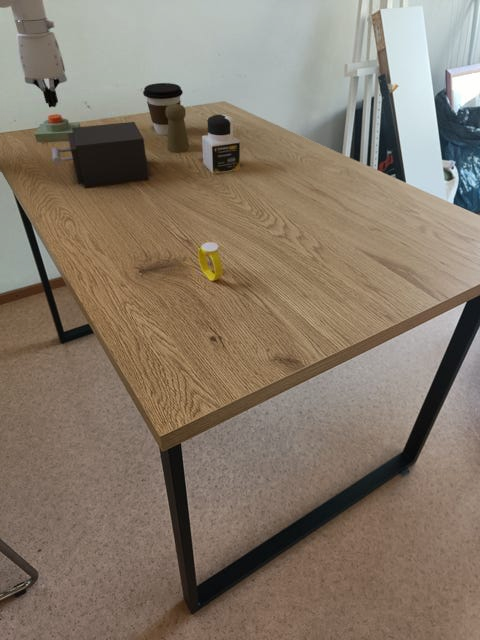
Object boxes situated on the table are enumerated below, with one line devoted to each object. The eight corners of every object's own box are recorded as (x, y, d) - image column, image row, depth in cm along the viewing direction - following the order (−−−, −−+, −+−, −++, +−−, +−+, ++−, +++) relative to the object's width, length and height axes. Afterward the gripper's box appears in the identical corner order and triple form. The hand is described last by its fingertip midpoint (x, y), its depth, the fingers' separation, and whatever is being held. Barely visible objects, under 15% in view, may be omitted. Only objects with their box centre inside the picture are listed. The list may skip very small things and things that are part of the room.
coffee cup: (148, 126, 137) (143, 82, 129) (185, 125, 138) (182, 82, 130) (147, 138, 128) (141, 92, 121) (185, 137, 129) (182, 92, 121)
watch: (195, 270, 78) (193, 240, 74) (209, 265, 79) (207, 235, 75) (212, 287, 74) (210, 257, 70) (226, 282, 75) (226, 252, 72)
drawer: (59, 186, 102) (49, 151, 96) (57, 167, 110) (48, 134, 105) (138, 176, 106) (133, 142, 101) (130, 159, 114) (125, 127, 109)
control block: (36, 142, 126) (32, 127, 123) (42, 131, 132) (38, 117, 130) (77, 140, 127) (74, 125, 124) (80, 129, 134) (77, 115, 131)
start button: (48, 125, 126) (46, 118, 125) (50, 121, 128) (48, 114, 127) (61, 124, 126) (60, 117, 125) (63, 120, 129) (62, 114, 128)
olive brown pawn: (163, 150, 121) (158, 106, 114) (174, 143, 126) (170, 100, 119) (183, 153, 120) (179, 109, 113) (193, 146, 124) (190, 103, 117)
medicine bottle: (213, 174, 109) (211, 123, 102) (203, 164, 114) (200, 114, 107) (240, 170, 112) (240, 119, 104) (229, 160, 117) (228, 110, 109)
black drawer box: (85, 188, 103) (75, 145, 97) (81, 167, 112) (72, 127, 106) (148, 179, 107) (143, 138, 101) (139, 160, 116) (134, 121, 110)
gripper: (65, 24, 116) (82, 100, 128) (4, 25, 114) (27, 103, 127) (61, 29, 111) (79, 108, 123) (-3, 30, 109) (22, 111, 121)
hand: (52, 105), depth 125 cm, fingers closed
